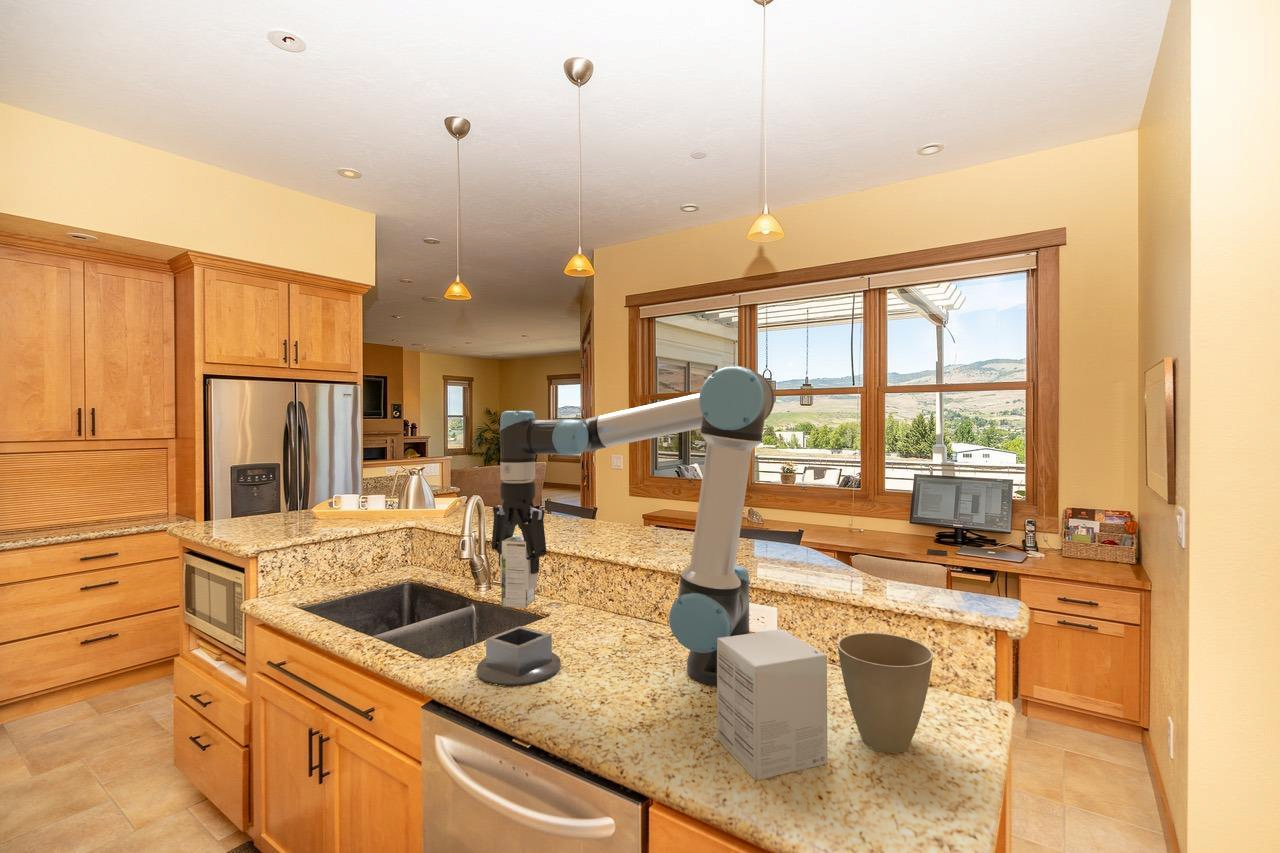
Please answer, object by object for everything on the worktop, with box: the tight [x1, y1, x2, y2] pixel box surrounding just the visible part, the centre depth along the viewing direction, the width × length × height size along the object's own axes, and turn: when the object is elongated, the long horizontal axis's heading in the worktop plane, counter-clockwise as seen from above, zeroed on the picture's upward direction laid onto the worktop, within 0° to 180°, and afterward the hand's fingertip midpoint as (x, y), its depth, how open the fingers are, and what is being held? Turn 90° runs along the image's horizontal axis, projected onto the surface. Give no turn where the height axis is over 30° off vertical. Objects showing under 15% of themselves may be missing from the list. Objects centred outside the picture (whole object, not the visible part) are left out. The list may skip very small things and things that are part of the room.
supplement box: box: [716, 628, 829, 781], centre depth 100 cm, size 13×13×18 cm
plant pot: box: [837, 632, 934, 754], centre depth 102 cm, size 15×15×16 cm
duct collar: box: [476, 625, 562, 687], centre depth 134 cm, size 18×18×7 cm
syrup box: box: [500, 535, 536, 608], centre depth 133 cm, size 6×6×14 cm
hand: (518, 585), depth 134 cm, fingers closed on syrup box, 7 cm apart
